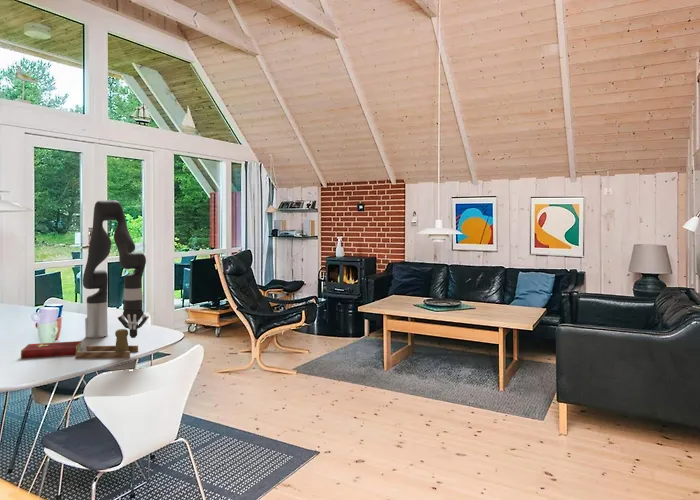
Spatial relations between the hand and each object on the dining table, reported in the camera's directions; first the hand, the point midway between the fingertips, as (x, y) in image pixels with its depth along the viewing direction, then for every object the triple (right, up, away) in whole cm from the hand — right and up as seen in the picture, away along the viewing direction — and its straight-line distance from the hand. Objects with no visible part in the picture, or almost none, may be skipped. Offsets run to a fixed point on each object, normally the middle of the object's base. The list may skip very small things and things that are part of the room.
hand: (133, 337), depth 221 cm
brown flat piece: (-11, -7, -1) cm, 13 cm away
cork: (-5, -8, 0) cm, 9 cm away
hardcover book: (-35, -8, 0) cm, 36 cm away
